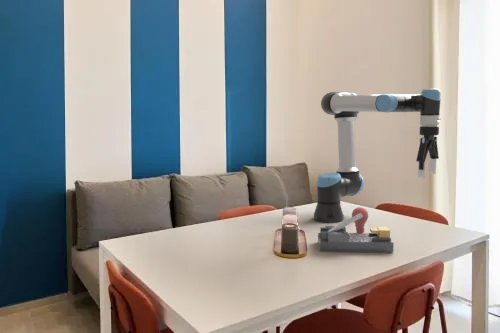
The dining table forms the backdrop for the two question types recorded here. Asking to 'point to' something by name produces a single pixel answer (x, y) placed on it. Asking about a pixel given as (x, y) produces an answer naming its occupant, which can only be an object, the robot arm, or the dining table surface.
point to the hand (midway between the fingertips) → (427, 175)
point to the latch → (381, 232)
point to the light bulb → (361, 221)
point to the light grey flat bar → (346, 223)
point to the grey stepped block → (352, 241)
